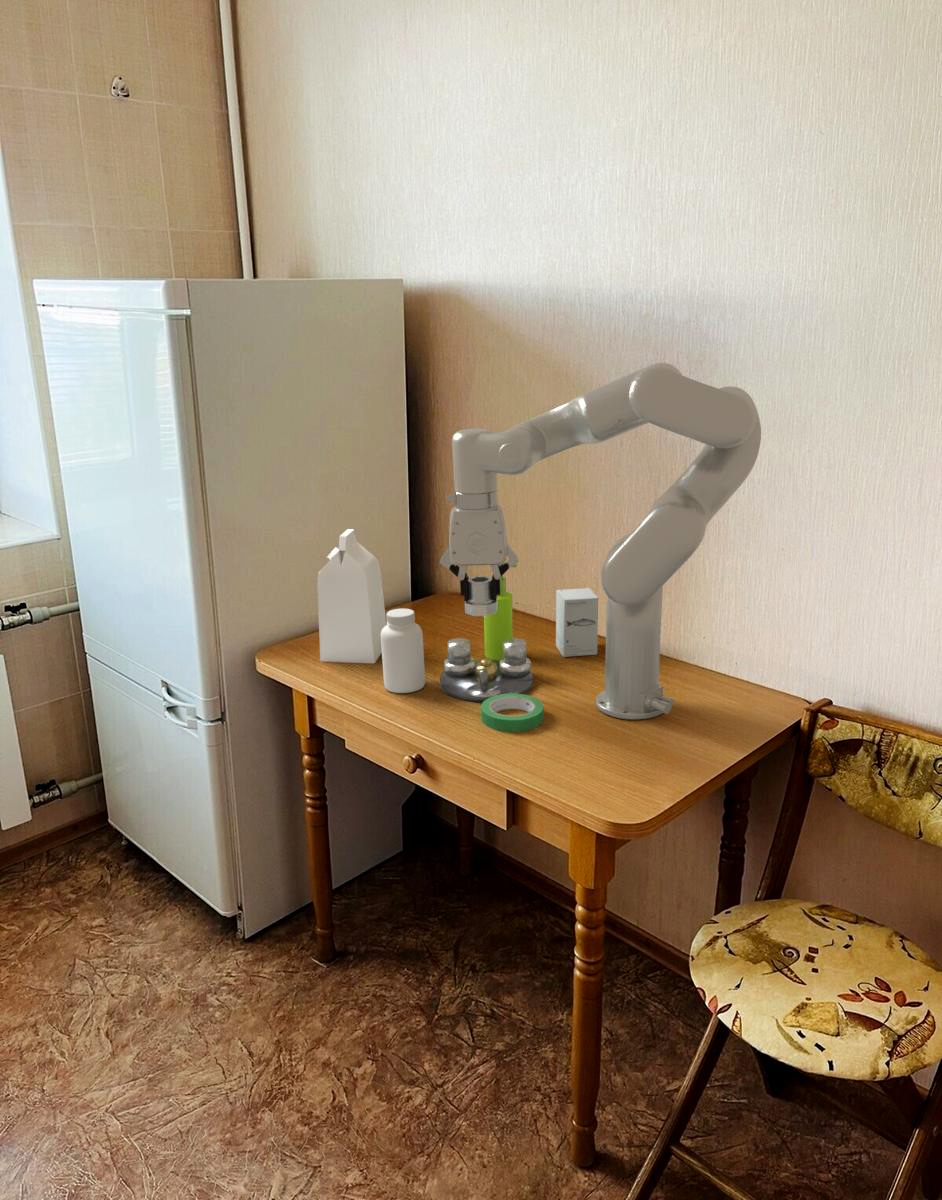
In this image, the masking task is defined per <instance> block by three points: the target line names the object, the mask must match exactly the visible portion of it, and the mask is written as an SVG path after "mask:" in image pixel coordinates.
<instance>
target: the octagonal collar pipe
mask: <svg viewBox="0 0 942 1200" xmlns="http://www.w3.org/2000/svg"><path fill="white" fill-rule="evenodd" d="M491 580H492V576H487V575H475V576H472V577H469V579H468V597H469V601H464V613H465V615H469V616H472V617H484V616H488V615H491V614H494V613H497V609H498V606H497V599H496V601H493V600H492V583H491Z"/></svg>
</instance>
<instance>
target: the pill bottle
mask: <svg viewBox="0 0 942 1200" xmlns="http://www.w3.org/2000/svg"><path fill="white" fill-rule="evenodd" d="M385 616H386V626H385V627H384V628H383V629H382V631H381V648H382V653H381V660H382V672H383V673H382V674H383V675H382V676H383V686H384V688H385V689H386V690H387V691H388V692H391V693H396V694H409V693H413V692H417V691H420V690H421V689H422V688H424V687H425V683H426V671H425V670H426V669H425V654H424V636H423V630H422V627H421V626H420V625H419V624H417V623H415V621H416V613H415V611H414V610H413V609H410V608H394V609H391V610H389V611H387V612H386V613H385Z"/></svg>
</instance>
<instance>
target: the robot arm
mask: <svg viewBox="0 0 942 1200" xmlns="http://www.w3.org/2000/svg"><path fill="white" fill-rule="evenodd" d="M647 424H652V425H653V426H656V427H658V428H661V429H664V430H666V431H668V432H671V433H674V434H678V435H680V436H683V437H686V438H689V439H690V440H694V441H697V442H698V443H701V444H704V447H703V448H702V450H701V451H700V452H699V454H698V455H697V456H696V457H695V458H694V459H693V460H692V462H691V463H690V464H689V466H688V467H687V468H686V469H685V470H684V471H683V472H682V473H681V475H680V476H679V477H678V478H677V479H676V480H675V481H673V482H674V483H672V485H670V487H668V489H667V490H666V491H664V492H663V493H661V495H660V496H659V497H658V498H657V499H655V501H654V502H653V504H652V505H651V507H650V509H649V511H648V513H647V515H646V516H645V517H644V518H643V519H642V521H640V523H639V524H638V525H637V526H636V527H635V528H634V530H633V531H632V532H631V533H629V534H625V535H623V536H622V537H620V538H619V539H618V540H616V542H614V544H613V545H612V546H611V548H610V550H609V551H608V553H607V555H606V558H605V560H604V562H603V564H602V568H601V570H600V571H601V572H600V582H601V586H602V589H603V591H604V593H605V594H606V617H605V619H606V621H605V622H606V623H605V658H604V659H605V664H604V668H605V669H604V690H602V691H601V692H599V693H598V694H597V695H596V698H595V705H596V707H597V708H598V710H599V711H600V712H601V713H603V714H606V715H607V716H611V717H613V718H618V719H624V720H645V719H652V718H655V717H657V716H660V715H661V714H667V715H668V714H669V713H670V712H671V710H672V706H674V703H675V700H674V698H672V697H669V696H665V695H664V685H661V684H660V683H659V682H660V661H661V660H660V658H661V657H660V654H661V633H662V631H661V630H662V629H661V628H662V609H663V608H662V607H663V593H664V585H666V583H667V582H668V581H669V580H670V579H671V578H672V577H673V576H674V575H675V574H676V573H677V571H679V569H680V568H681V567H682V566H683V565H684V564H685V563H686V562H687V561H688V560H689V559H690V558H691V557H692V556H693V554H694V553H695V552H696V551H697V549H698V548H699V547H700V545H701V543H702V542H703V539H704V538H705V533H706V528H707V526H708V524H709V523H710V521H711V520H712V519H713V518H714V517H715V515H716V514H717V513H718V512H719V511H720V510H721V508H723V507H724V505H725V504H726V503H728V501H729V499H731V497H732V496H733V495H734V494H735V493H736V492H737V490H738V489H739V488H740V487H741V486H742V485H743V483H744V482H745V480H747V478H748V477H749V475H750V474H751V472H752V470H753V468H754V466H755V464H756V461H757V459H758V456H759V452H760V447H761V441H762V425H761V419H760V416H759V413H758V409H757V406H756V404H755V402H754V399H753V398H752V396H751V395H750V394H749V393H748V392H747V391H745V390H744V389H742V388H740V387H737V386H732V385H731V386H722V387H720V388H718V387H715V386H712V385H709V384H705V383H703V382H700V381H698V380H694V379H693V378H690V377H687V376H685V375H683V374H682V372H681V371H680V370H679V369H678V368H677V367H676V366H674V365H672V364H670V363H666V362H658V363H654V364H650V365H648V366H645V367H643V368H640V369H637V370H636V371H633V372H632V373H629V374H626V375H624V376H622V377H620V378H618V379H617V378H616V380H613V381H610V382H609V383H606V384H604V385H601V386H599V387H597V388H595V389H593V390H592V389H591V390H590V391H587V392H585V393H583V394H581V395H578V396H576V397H575V398H573V399H572V400H570V401H568V402H566V403H564V404H562V405H560V406H558V407H555V408H552V409H550V410H547V411H546V412H544V413H541V414H539V415H536V416H534V417H532V418H529V419H528V420H525V421H523V422H520V423H517V424H516V425H514V426H512V427H510V428H508V429H507V430H504V431H502V432H493V431H492V430H490V429H486V428H468V429H460V430H458V431H456V432H455V433H454V434H453V435H452V441H451V445H452V446H451V447H452V465H453V482H454V484H453V486H454V491H453V493H451V494H447V495H446V502H447V503H451V504H453V505H454V507H452V509H451V510H450V515H449V534H448V535H449V536H448V538H449V539H448V541H449V542H448V543H449V544H448V545H449V546H448V547H447V549H446V550H445V552H444V553H443V555H442V556H441V557H440V560H439V565H442V566H443V567H444V568H446V569H448V570H449V571H450V572H451V573H452V574H453V575H454V576H456V577H457V579H458V580H459V587H460V589H459V590H460V596H463V599H464V602H465V601H469V597H468V579H469V578H470V577H469V576H468V573H467V570H468V569H467V568H468V566H490V565H491V567H490V568H491V571H492V576H491V577H492V580H491V583H492V600H493V601H496V599H497V595H500V578H501V576H504V575H505V573H507V571H508V570H509V569H510V568H513V567H512V566H513V565H515V564H516V563H517V564H518V563H519V560H520V558H519V556H518V554H517V553H515V551H514V549H512V547H511V546H510V545H509V543H508V540H507V530H506V523H505V516H504V511H503V508H502V506H501V505H499V499H498V496H499V495H498V474H500V475H507V476H517V475H521V474H523V473H525V472H527V471H528V470H530V469H531V468H532V467H534V465H535V464H536V463H539V462H540V461H542V460H545V459H546V458H549V457H551V456H554V455H557V454H559V453H561V452H564V451H566V450H568V449H572V448H574V447H578V446H582V445H588V444H589V445H591V444H592V445H595V444H599V443H603V442H606V441H608V440H611V439H613V438H615V437H617V436H620V435H622V434H625V433H627V432H630V431H632V430H635V429H636V428H637V429H638V428H640V427H641V426H644V425H647ZM507 557H508V559H507ZM505 561H506V562H505ZM503 562H504V563H503ZM502 563H503V564H502ZM499 564H502V565H501V566H500V565H499Z"/></svg>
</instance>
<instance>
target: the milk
mask: <svg viewBox="0 0 942 1200" xmlns="http://www.w3.org/2000/svg"><path fill="white" fill-rule="evenodd" d="M338 541H339V542H338V547H336V546H335V547H334V549H332V551H331V552H330V553H329V554H328V555H327V556H326V558H327V559H329V560H328V561H327V563H326V564H325V565H323V566H322V568H321V569H320V570H319V571H318V573H317V574H318V575H317V578H316V579H317V580H316V583H317V608H318V609H317V612H318V633H319V636H318V637H319V659H320V660H319V661H320V662H323V663H324V662H325V663H327V662H328V663H330V662H331V663H354V664H355V663H356V664H375V663H376V662H377V660H378V659H379V658H380V656H381V655H382V648H381V631H382V629H383V628H384V627H385V626H386V625H387V616H386V609H385V602H384V601H385V599H384V590H383V582H382V572H381V571H382V570H381V565H380V562H379V560H378V559H377V557H376V556H375V555H374V554H373V553H371V552H370V551H369V550H368V549H366V548H365V547H364V546H363V545H362V544H361V543H359V542H358V541H357V539H356V531H355V529H353V528H351V529H350V528H348V529H346V530H345V531H344V532H343V533H342V534H340V535H339V540H338Z"/></svg>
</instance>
